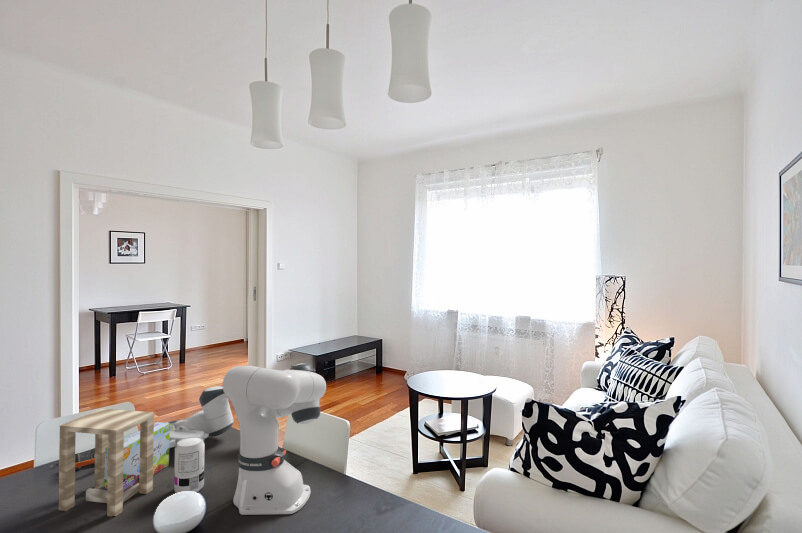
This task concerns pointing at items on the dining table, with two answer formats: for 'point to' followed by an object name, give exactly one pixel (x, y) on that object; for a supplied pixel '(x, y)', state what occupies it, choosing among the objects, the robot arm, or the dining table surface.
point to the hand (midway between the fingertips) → (160, 447)
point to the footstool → (111, 435)
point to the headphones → (79, 464)
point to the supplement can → (189, 465)
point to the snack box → (133, 455)
